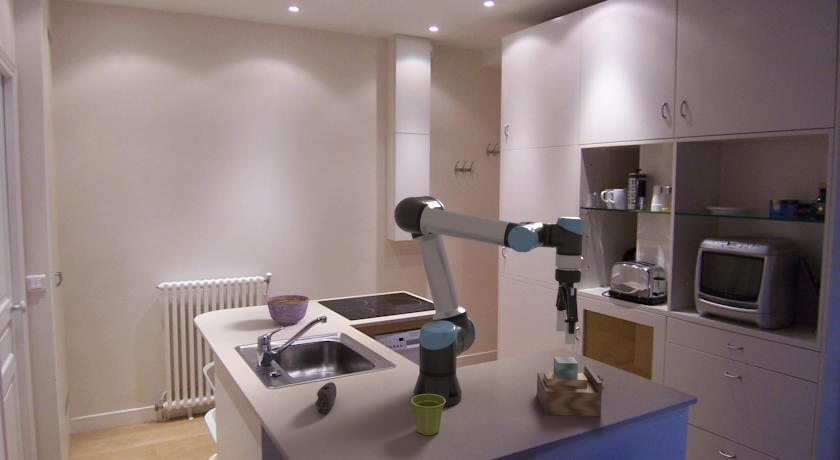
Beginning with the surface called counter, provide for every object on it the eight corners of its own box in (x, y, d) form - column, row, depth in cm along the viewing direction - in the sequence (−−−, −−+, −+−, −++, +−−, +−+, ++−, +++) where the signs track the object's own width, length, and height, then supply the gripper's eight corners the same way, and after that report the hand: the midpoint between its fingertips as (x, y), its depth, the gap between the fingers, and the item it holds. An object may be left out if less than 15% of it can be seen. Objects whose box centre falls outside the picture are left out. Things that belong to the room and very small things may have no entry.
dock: (545, 414, 160) (546, 381, 159) (536, 393, 176) (537, 363, 175) (600, 416, 159) (602, 382, 159) (587, 395, 175) (588, 364, 174)
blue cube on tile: (546, 385, 165) (547, 362, 164) (543, 378, 171) (544, 356, 170) (587, 386, 164) (588, 363, 163) (582, 379, 170) (583, 357, 169)
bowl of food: (259, 327, 254) (258, 302, 253) (277, 316, 274) (277, 294, 273) (300, 329, 251) (299, 304, 250) (315, 318, 271) (315, 295, 270)
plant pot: (409, 423, 153) (410, 393, 153) (443, 422, 154) (443, 392, 154) (412, 439, 144) (412, 407, 143) (447, 438, 145) (447, 406, 144)
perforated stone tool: (325, 396, 173) (325, 375, 172) (341, 397, 172) (341, 375, 172) (312, 416, 158) (312, 393, 157) (330, 417, 157) (330, 394, 157)
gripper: (591, 275, 152) (587, 350, 154) (571, 262, 176) (568, 326, 178) (564, 275, 152) (560, 349, 154) (548, 261, 177) (545, 326, 179)
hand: (565, 337), depth 166 cm, fingers open, 13 cm apart
